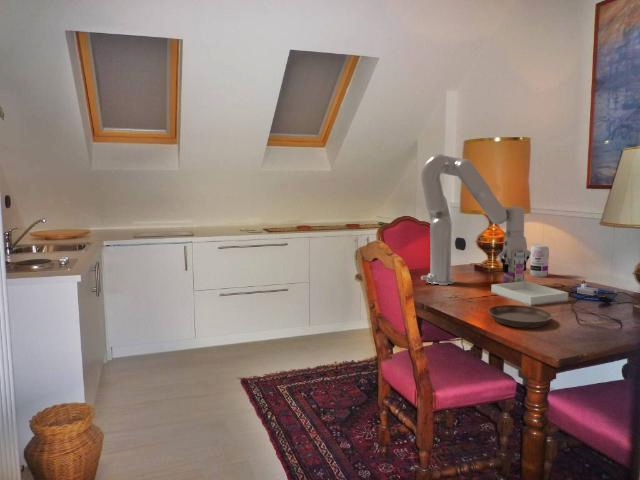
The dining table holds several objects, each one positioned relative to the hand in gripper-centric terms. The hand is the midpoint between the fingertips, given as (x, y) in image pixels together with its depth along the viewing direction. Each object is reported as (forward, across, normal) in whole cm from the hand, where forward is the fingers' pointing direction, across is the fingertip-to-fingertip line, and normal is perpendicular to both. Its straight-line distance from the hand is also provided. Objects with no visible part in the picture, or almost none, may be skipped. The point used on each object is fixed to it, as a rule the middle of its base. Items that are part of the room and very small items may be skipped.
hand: (514, 271), depth 232 cm
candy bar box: (+7, 0, 0) cm, 7 cm away
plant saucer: (+7, -35, -46) cm, 58 cm away
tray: (+6, -9, -20) cm, 23 cm away
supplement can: (+7, +25, +12) cm, 28 cm away
